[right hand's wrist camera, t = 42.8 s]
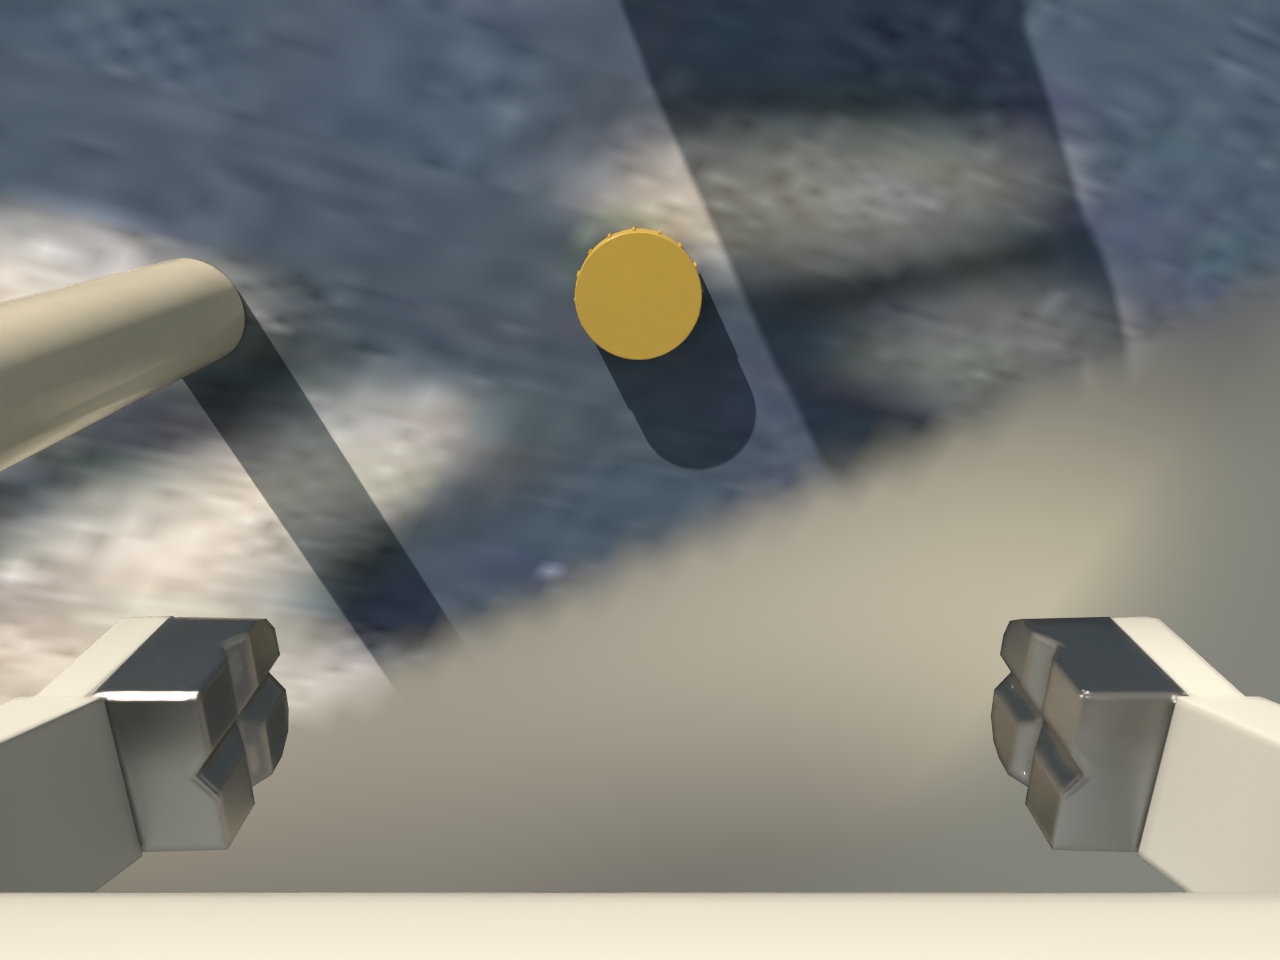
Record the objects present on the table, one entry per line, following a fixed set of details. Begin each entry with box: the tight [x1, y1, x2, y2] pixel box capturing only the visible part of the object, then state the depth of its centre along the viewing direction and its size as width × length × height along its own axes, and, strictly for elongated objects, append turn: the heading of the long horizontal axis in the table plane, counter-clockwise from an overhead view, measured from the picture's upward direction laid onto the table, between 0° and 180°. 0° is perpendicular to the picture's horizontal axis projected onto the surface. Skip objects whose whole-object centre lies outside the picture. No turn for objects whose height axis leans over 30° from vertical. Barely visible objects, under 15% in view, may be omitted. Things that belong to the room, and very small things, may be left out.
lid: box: [574, 227, 703, 360], centre depth 36 cm, size 5×5×2 cm
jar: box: [0, 258, 245, 472], centre depth 29 cm, size 4×4×17 cm
